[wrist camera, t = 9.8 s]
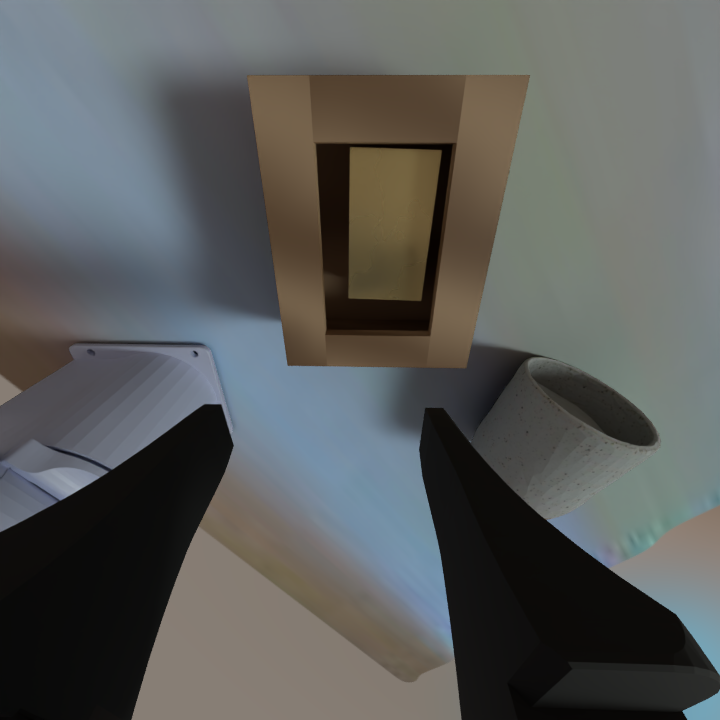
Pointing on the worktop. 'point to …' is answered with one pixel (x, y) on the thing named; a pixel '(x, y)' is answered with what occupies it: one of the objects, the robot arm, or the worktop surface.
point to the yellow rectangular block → (390, 221)
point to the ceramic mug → (562, 436)
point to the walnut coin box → (331, 207)
